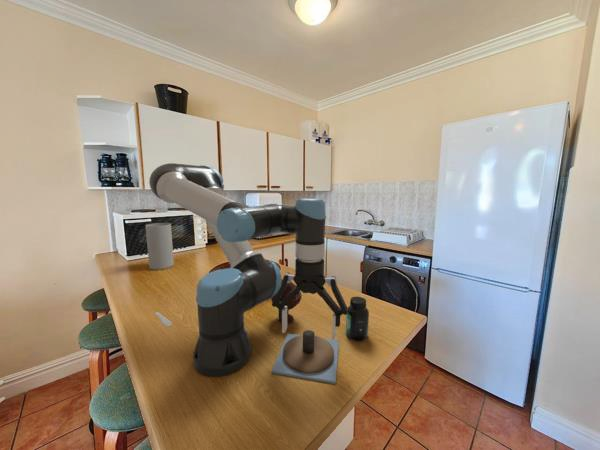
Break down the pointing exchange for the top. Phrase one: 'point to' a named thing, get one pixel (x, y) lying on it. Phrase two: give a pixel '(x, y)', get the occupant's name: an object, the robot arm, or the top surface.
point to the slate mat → (323, 376)
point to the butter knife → (163, 320)
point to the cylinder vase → (159, 245)
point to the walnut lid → (308, 353)
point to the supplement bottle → (357, 319)
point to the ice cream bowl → (292, 302)
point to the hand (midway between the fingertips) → (308, 333)
